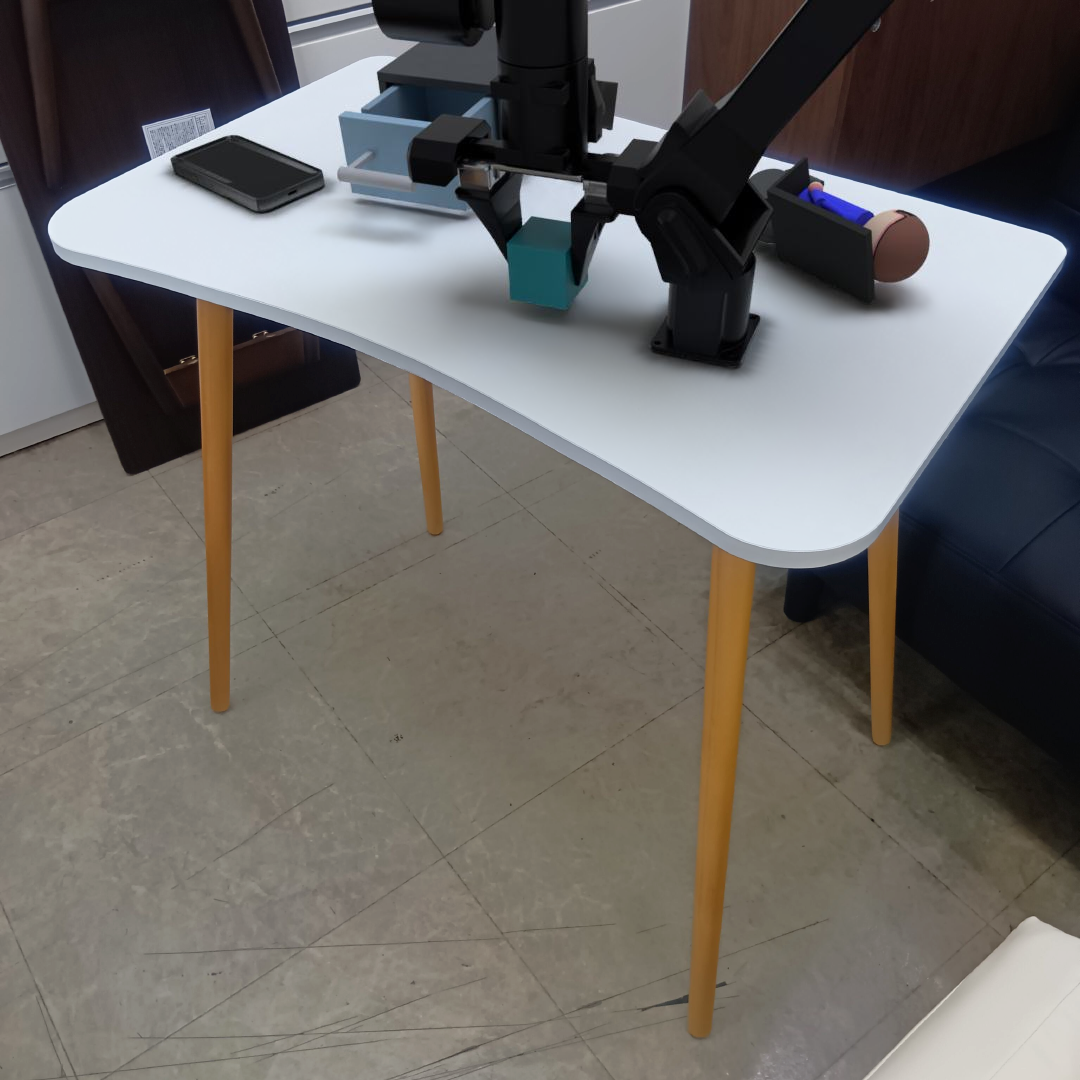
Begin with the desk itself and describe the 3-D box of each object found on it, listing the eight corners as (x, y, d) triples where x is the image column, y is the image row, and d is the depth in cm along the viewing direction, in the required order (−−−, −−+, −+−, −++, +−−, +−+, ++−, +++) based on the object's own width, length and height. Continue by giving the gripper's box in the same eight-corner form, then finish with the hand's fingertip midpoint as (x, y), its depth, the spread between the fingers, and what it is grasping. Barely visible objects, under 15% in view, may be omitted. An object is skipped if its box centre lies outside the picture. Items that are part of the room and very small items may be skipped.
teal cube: (566, 310, 70) (565, 253, 67) (509, 299, 72) (506, 243, 68) (588, 280, 73) (588, 224, 70) (533, 270, 74) (531, 215, 71)
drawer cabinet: (510, 184, 89) (504, 86, 83) (390, 166, 93) (376, 71, 87) (568, 124, 98) (567, 32, 92) (457, 110, 102) (449, 21, 96)
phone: (233, 133, 97) (327, 171, 89) (236, 144, 98) (329, 183, 90) (164, 159, 93) (257, 202, 85) (168, 170, 94) (260, 214, 86)
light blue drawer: (440, 236, 80) (431, 155, 75) (323, 216, 84) (307, 137, 79) (527, 149, 92) (524, 74, 87) (421, 135, 96) (412, 62, 91)
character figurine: (781, 227, 82) (926, 302, 73) (718, 248, 78) (861, 328, 70) (801, 133, 76) (959, 200, 68) (734, 150, 73) (891, 223, 64)
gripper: (722, 25, 63) (702, 247, 74) (464, 2, 69) (481, 211, 80) (671, 86, 56) (657, 321, 67) (388, 54, 61) (418, 276, 72)
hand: (549, 277), depth 72 cm, fingers closed on teal cube, 4 cm apart
